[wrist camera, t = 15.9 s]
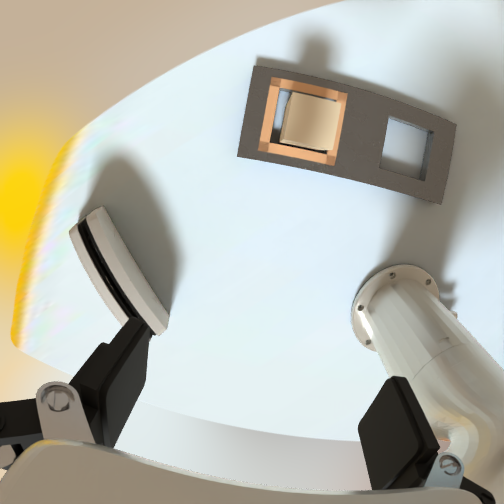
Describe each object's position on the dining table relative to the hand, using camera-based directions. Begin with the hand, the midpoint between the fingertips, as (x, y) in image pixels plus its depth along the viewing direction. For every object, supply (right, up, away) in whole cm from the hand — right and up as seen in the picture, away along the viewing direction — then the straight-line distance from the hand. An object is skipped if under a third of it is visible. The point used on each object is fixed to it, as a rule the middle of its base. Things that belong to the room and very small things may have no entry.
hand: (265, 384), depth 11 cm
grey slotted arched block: (-16, +3, +27) cm, 31 cm away
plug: (+5, +18, +21) cm, 28 cm away
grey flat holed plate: (+11, +18, +21) cm, 29 cm away
